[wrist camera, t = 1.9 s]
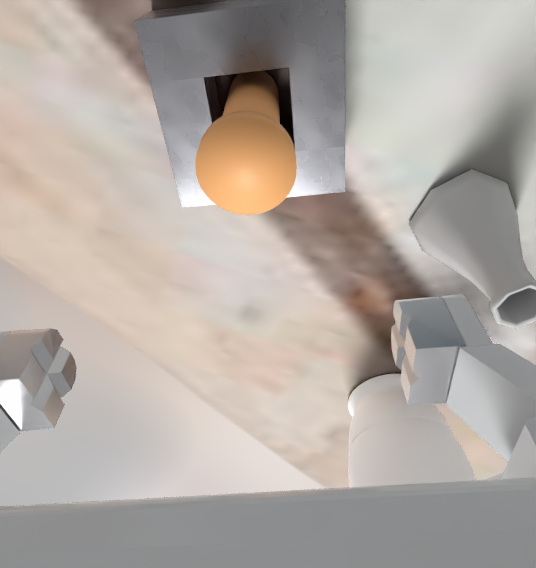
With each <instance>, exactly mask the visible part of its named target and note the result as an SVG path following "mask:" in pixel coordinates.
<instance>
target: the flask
mask: <svg viewBox="0 0 536 568" xmlns="http://www.w3.org/2000/svg"><path fill="white" fill-rule="evenodd" d="M409 225H410V227H411V229H412V231H413V233H414V235H415V237H416V239H417V241H418V243H419V245H420V247H421V249H422V250H423V251H424V252H425V253H427V254H428V255H430V256H432V257H433V258H435V259H437V260H438V261H440V262H442V263H443V264H445V265H447V266H449V267H450V268H452V269H453V270H455V271H456V272H458V273H459V274H461V275H462V276H464V277H465V278H467V279H468V280H470V281H471V282H473V283H474V284H475V285H476V286H477V287H478V288H479V289H480V290H481V291H482V292H483V293H484V294H485V295H486V296H487V297H488V299H489V301H490V303H489V307H490V309H491V312H492V314H493V316H494V318H495V321H496V322H497V323H498V324H501V325H504V326H507V327H511V328H514V329H517V328H520V327H522V326H525V325H528V324H530V323H533V322H536V281H535V279H534V278H533V277H532V275H531V274H530V272H529V271H528V270H527V267H526V265H525V263H524V260H523V256H522V250H521V244H520V235H519V224H518V216H517V212H516V209H515V206H514V203H513V200H512V197H511V194H510V191H509V187H508V184H507V183H506V182H504V181H501V180H499V179H496V178H494V177H491V176H489V175H486V174H484V173H481V172H478V171H476V170H473V169H471V170H469V171H467V172H465V173H463V174H461V175H459V176H457V177H455V178H453V179H451V180H449V181H447V182H446V183H444V184H442V185H440V186H438V187H436V188H434V189H432V190H430V192H429V194H428V195H427V197H426V198H425V200H424V201H423V203H422V204H421V206H420V207H419V209H418V210H417V212H416V213H415V215H414V216H413V218H412V219H411V221H410V222H409Z"/></svg>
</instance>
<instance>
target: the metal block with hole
mask: <svg viewBox="0 0 536 568" xmlns="http://www.w3.org/2000/svg"><path fill="white" fill-rule="evenodd" d="M134 23H135V27H136V31H137V35H138V39H139V43H140V47H141V50H142V54H143V58H144V62H145V66H146V70H147V74H148V77H149V81H150V85H151V89H152V93H153V97H154V101H155V104H156V108H157V112H158V116H159V120H160V124H161V128H162V131H163V135H164V139H165V143H166V147H167V151H168V155H169V159H170V162H171V166H172V170H173V174H174V178H175V182H176V186H177V189H178V193H179V197H180V201H181V205H182V207H192V206H202V205H213V204H215V203H213V202H212V201H211V200H210V199H209V198H208V197H207V196H206V194H205V193H204V192H203V190H202V189H201V187H200V185H199V182H198V180H197V176H196V171H195V160H196V154H197V151H198V148H199V145H200V142H201V139H202V137H203V135H204V133H205V132H206V130H207V129H208V128H209V126H210V125H211V124H212V123H213V122H214V121H216V120H217V119H219V118H220V117H221V112H220V106H219V100H218V94H217V88H216V83H215V77H214V76H219V75H228V74H236V73H245V72H253V71H262V70H270V69H279V68H287V67H288V75H289V88H290V102H291V115H292V128H285V130H286V131H287V133H288V134H289V136H290V137H291V140H292V142H293V145H294V148H295V155H296V163H297V173H296V179H295V183H294V185H293V187H292V190H291V191H290V193H289V194H288V196H287V197H295V196H306V195H316V194H326V193H337V192H345V0H229V1H221V2H214V3H206V4H198V5H190V6H183V7H175V8H167V9H160V10H152V11H150V12H149V13H147V14H145V15H144V16H142V17H140V18H139V19H137V20H135V21H134Z"/></svg>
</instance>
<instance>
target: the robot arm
mask: <svg viewBox="0 0 536 568" xmlns="http://www.w3.org/2000/svg"><path fill="white" fill-rule="evenodd" d="M393 315H394V318H395V321H396V323H395V324H394V325H393V326H392V328H391V345H392V353H393V357H394V361H395V364H396V366H397V367H398V368H399V369H401V370H402V372H401V384H402V387H403V391H404V394H405V397H406V400H407V403H408V405H411V404H436V403H446V405H447V406H448V407H449V408H450V409H451V410H452V411H453V412H454V413H455V414H456V415H457V416H458V417H459V418H461V419H462V420H463V421H464V422H465V423H466V424H467V425H468V426H469V427H470V428H471V429H472V430H473V431H474V432H475V433H476V434H477V435H479V436H480V437H481V438H482V439H483V440H484V441H485V442H486V443H487V444H488V445H489V446H490V447H491V448H492V449H493V450H494V451H495V452H497V453H498V454H499V455H500V456H501V457H502V458H503V459H504V460H505V461H506V462H507V463H508V464H507V466H506V468H505V470H504V473H503V475H502V477H501V479H494V480H476V481H457V482H439V483H421V484H402V485H384V486H365V487H347V488H329V489H311V490H293V491H276V492H256V493H239V494H220V495H201V496H185V497H184V496H183V497H164V498H146V499H128V500H109V501H91V502H72V503H54V504H35V505H19V506H0V568H536V365H534V364H532V363H531V362H529V361H527V360H526V359H524V358H522V357H521V356H519V355H518V354H516V353H514V352H513V351H511V350H509V349H508V348H506V347H504V346H503V345H501V344H494V345H493V343H492V341H491V340H490V338H489V336H488V334H487V333H486V331H485V329H484V327H483V326H482V324H481V322H480V320H479V319H478V317H477V315H476V313H475V312H474V310H473V308H472V306H471V305H470V303H469V301H468V299H467V298H466V296H465V295H463V294H455V295H445V296H439V297H427V298H416V299H404V300H395V303H394V307H393ZM62 342H63V338H62V337H61V335H60V334H59V332H58V330H55V329H36V330H18V331H9V332H0V453H1V452H2V451H3V450H4V449H5V448H6V447H7V446H8V445H9V444H10V442H12V441H13V440H14V439H15V438H16V437H17V436H18V435H19V434H20V432H19V431H28V430H38V429H49V428H54V427H55V425H56V423H57V420H58V418H59V416H60V414H61V411H62V409H63V407H64V402H63V399H62V397H63V396H64V395H65V394H66V393H67V392H69V391H70V390H71V389H72V386H73V384H74V381H75V377H76V364H75V360H74V358H73V356H72V354H71V353H70V352H69V351H68V350H66V349H64V348H63V347H61V344H62Z"/></svg>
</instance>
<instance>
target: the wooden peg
mask: <svg viewBox="0 0 536 568" xmlns="http://www.w3.org/2000/svg"><path fill="white" fill-rule="evenodd" d="M195 171H196V176H197V180H198V182H199V185H200V187H201V189H202V190H203V192H204V193H205V194H206V196H207V197H208V198H209V199H210V200H211V201H212V202H213V203H215V204H216V205H217V206H219V207H220V208H222V209H224V210H226V211H229V212H232V213H235V214H241V215H254V214H260V213H263V212H266V211H269V210H271V209H273V208H274V207H276V206H277V205H279V204H280V203H281V202H282V201H283V200H284V199H285V198H286V197H287V196H288V194H289V193H290V191H291V190H292V187H293V185H294V183H295V179H296V173H297V163H296V155H295V148H294V145H293V142H292V140H291V137H290V136H289V134H288V133H287V131H286V130H285V129H284V127H283V126H282V125H281V124H280V116H279V97H278V88H277V85H276V83H275V81H274V80H273V78H272V77H271V76H270V75H269V74H268V73H266V72H264V71H253V72H245V73H239V74H238V75H237V76H236V77H235V78H234V80H233V81H232V84H231V86H230V90H229V94H228V97H227V101H226V105H225V108H224V112H223V116H222V117H220V118H219V119H217V120H216V121H214V122H213V123H212V124H211V125H210V126H209V128H208V129H207V130H206V132H205V133H204V135H203V137H202V139H201V142H200V145H199V148H198V151H197V154H196V160H195Z"/></svg>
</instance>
